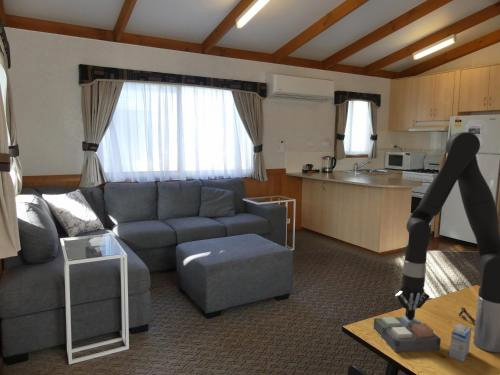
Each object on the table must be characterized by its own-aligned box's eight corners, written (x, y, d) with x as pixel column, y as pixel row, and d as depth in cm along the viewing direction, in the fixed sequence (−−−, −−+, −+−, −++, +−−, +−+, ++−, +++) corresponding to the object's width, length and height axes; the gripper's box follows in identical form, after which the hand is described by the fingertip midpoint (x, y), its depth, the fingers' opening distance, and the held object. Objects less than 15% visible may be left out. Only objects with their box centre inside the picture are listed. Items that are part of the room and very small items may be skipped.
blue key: (412, 321, 144) (412, 315, 144) (419, 328, 139) (420, 321, 139) (400, 322, 143) (400, 316, 143) (407, 328, 139) (407, 322, 138)
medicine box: (454, 347, 133) (456, 323, 132) (469, 351, 130) (471, 327, 129) (448, 356, 127) (451, 331, 126) (464, 362, 124) (466, 336, 123)
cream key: (404, 333, 135) (404, 326, 135) (411, 340, 131) (412, 333, 130) (391, 333, 135) (391, 327, 134) (398, 341, 130) (398, 334, 130)
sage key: (393, 322, 143) (393, 316, 143) (399, 329, 138) (400, 323, 138) (380, 323, 142) (381, 317, 142) (387, 329, 138) (387, 323, 137)
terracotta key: (424, 329, 136) (424, 323, 136) (432, 336, 132) (433, 330, 131) (411, 330, 136) (412, 323, 135) (419, 337, 131) (420, 330, 131)
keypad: (413, 326, 146) (414, 316, 146) (439, 349, 131) (440, 338, 130) (373, 328, 144) (374, 318, 144) (395, 352, 128) (396, 341, 128)
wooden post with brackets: (458, 313, 157) (463, 305, 155) (474, 329, 151) (479, 321, 149) (455, 313, 157) (460, 305, 154) (470, 329, 150) (475, 322, 148)
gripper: (425, 269, 143) (420, 313, 146) (391, 269, 141) (387, 314, 144) (437, 276, 136) (432, 323, 138) (402, 277, 134) (397, 324, 136)
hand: (409, 318), depth 141 cm, fingers closed
